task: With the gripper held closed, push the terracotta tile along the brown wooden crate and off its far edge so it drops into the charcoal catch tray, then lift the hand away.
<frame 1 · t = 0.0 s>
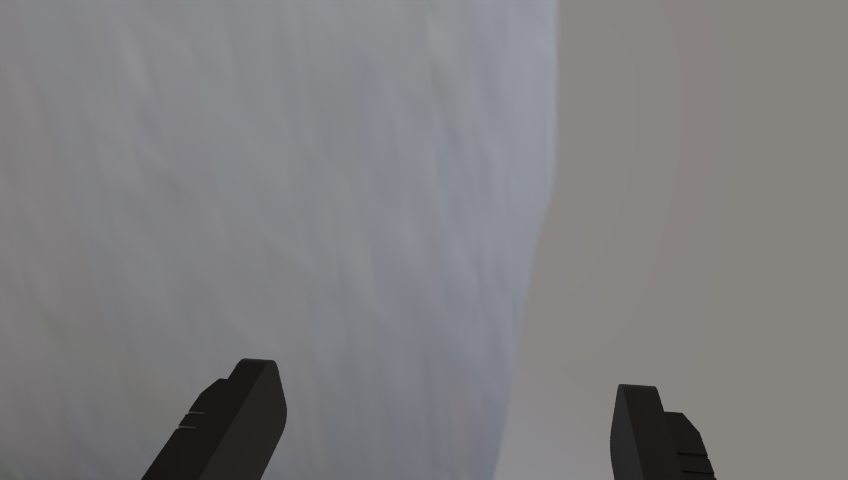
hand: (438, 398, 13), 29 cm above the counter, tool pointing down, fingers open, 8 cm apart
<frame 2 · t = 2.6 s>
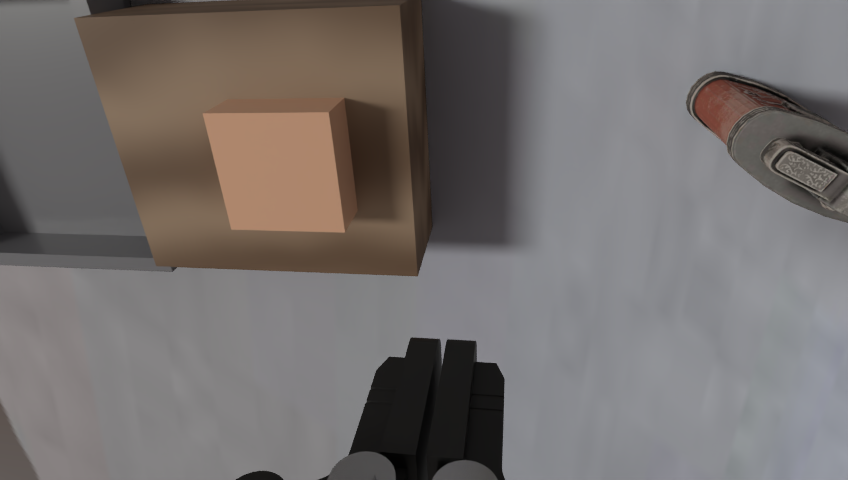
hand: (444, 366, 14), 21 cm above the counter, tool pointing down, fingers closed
tile: (294, 156, 28), point 6 cm above the counter, touching brown wooden crate
catch tray: (53, 123, 36), on the counter
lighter: (754, 118, 30), on the counter
brown wooden crate: (298, 122, 34), on the counter
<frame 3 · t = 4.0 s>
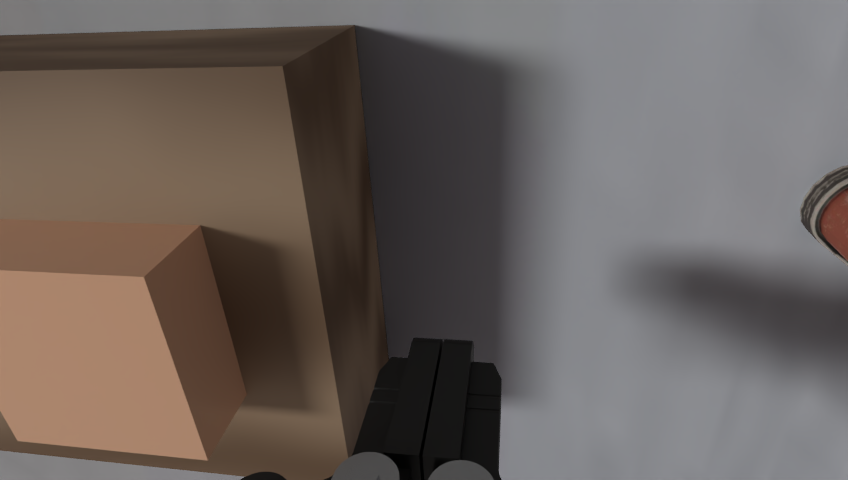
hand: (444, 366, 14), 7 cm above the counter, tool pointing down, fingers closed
tile: (131, 312, 16), point 6 cm above the counter, touching brown wooden crate
brown wooden crate: (178, 218, 22), on the counter
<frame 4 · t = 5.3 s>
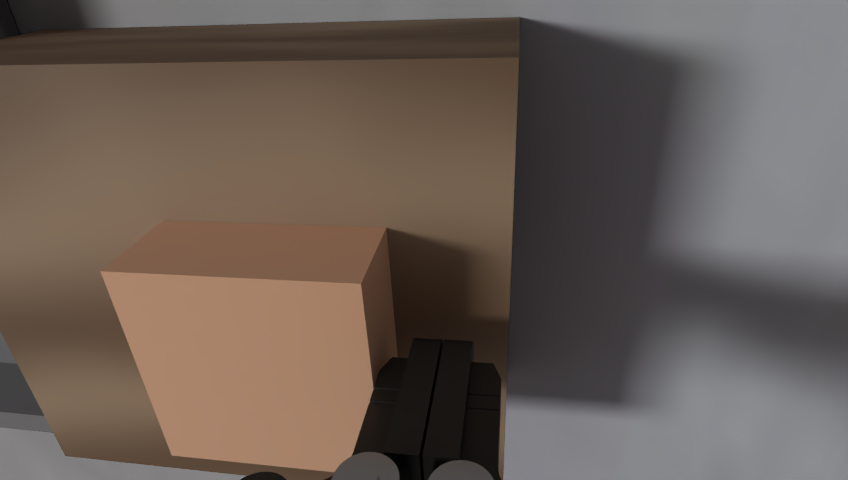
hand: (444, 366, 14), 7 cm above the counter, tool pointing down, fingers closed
tile: (290, 319, 15), point 6 cm above the counter, touching gripper
brown wooden crate: (298, 220, 21), on the counter
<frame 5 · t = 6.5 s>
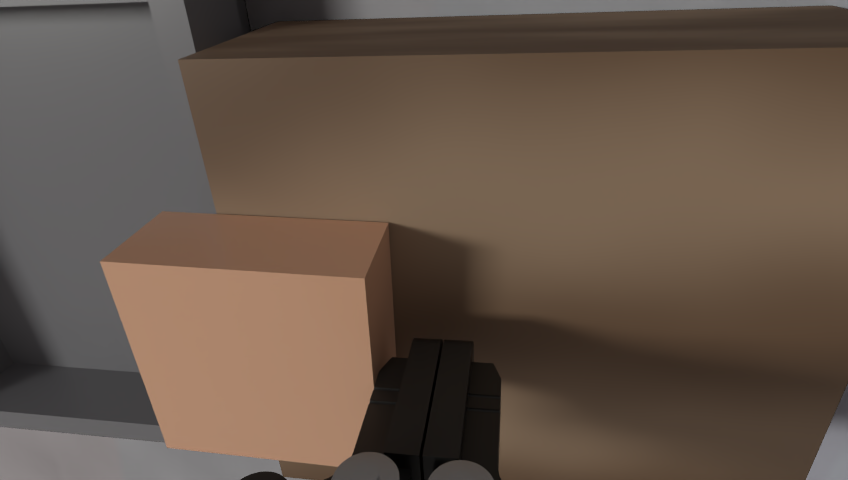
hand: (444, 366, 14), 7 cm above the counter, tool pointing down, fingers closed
tile: (288, 312, 15), point 6 cm above the counter
catch tray: (96, 212, 22), on the counter
brown wooden crate: (524, 224, 20), on the counter
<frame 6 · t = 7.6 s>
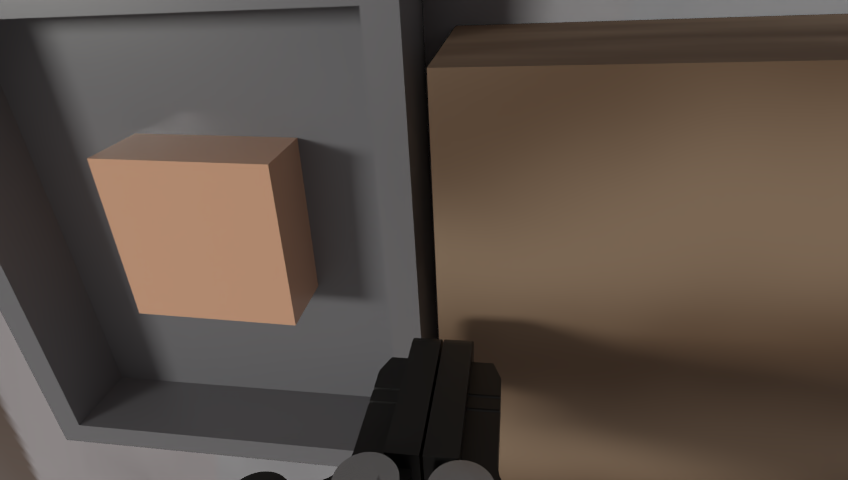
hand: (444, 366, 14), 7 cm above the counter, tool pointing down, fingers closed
tile: (197, 246, 18), point 3 cm above the counter, tilted 180°, touching catch tray
catch tray: (229, 223, 21), on the counter
brown wooden crate: (694, 236, 19), on the counter
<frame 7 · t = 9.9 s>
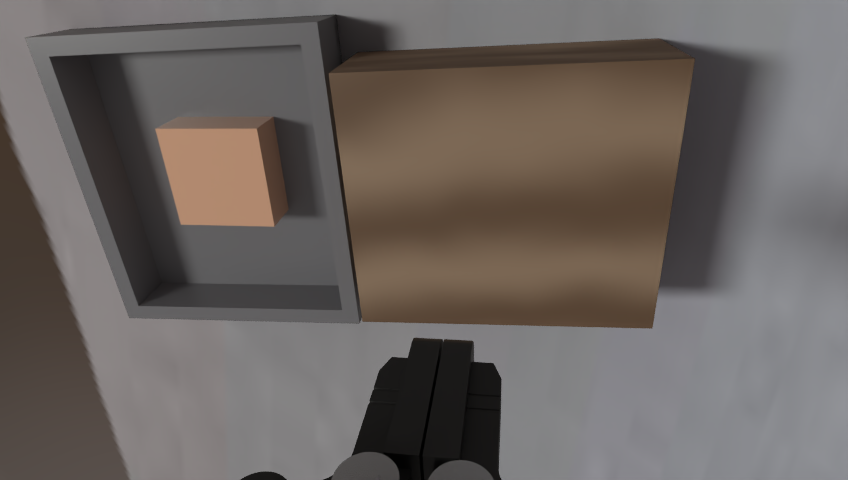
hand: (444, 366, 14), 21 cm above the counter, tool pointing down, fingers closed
tile: (216, 179, 32), point 3 cm above the counter, tilted 180°, touching catch tray
catch tray: (233, 172, 35), on the counter
brown wooden crate: (502, 168, 33), on the counter
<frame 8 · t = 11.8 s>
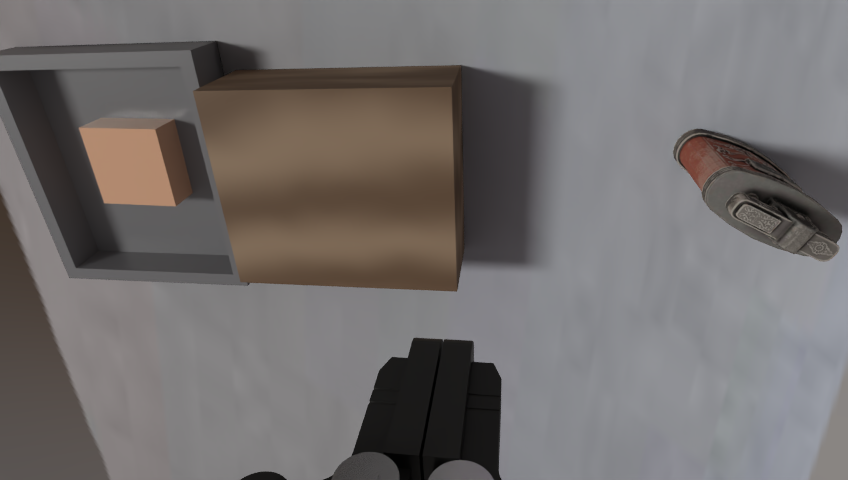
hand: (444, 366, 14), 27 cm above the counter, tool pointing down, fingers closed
tile: (128, 168, 41), point 3 cm above the counter, tilted 180°, touching catch tray
catch tray: (149, 162, 44), on the counter
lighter: (728, 164, 37), on the counter
brown wooden crate: (356, 163, 41), on the counter
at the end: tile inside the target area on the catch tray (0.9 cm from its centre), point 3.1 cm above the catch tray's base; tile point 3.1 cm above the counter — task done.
